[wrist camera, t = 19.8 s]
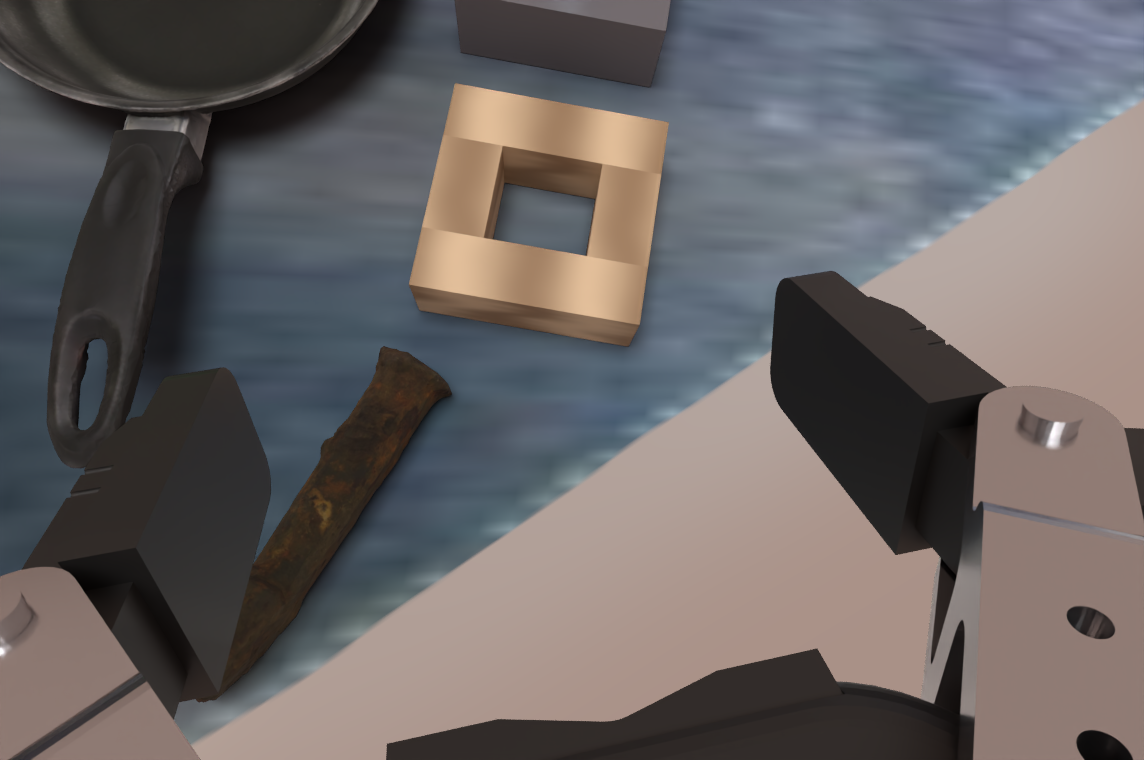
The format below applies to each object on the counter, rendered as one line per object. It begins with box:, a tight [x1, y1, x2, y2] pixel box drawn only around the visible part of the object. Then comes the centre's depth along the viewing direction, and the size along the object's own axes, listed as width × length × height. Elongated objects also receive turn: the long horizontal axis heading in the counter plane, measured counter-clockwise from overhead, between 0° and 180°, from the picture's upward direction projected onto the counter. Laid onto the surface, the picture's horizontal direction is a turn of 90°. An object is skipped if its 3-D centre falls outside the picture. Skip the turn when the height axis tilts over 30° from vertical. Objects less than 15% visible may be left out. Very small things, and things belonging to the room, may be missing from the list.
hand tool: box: [196, 346, 452, 702], centre depth 36 cm, size 19×4×5 cm, turn 148°
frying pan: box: [0, 0, 379, 468], centre depth 40 cm, size 44×25×7 cm, turn 179°
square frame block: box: [409, 83, 669, 346], centre depth 40 cm, size 12×12×4 cm
